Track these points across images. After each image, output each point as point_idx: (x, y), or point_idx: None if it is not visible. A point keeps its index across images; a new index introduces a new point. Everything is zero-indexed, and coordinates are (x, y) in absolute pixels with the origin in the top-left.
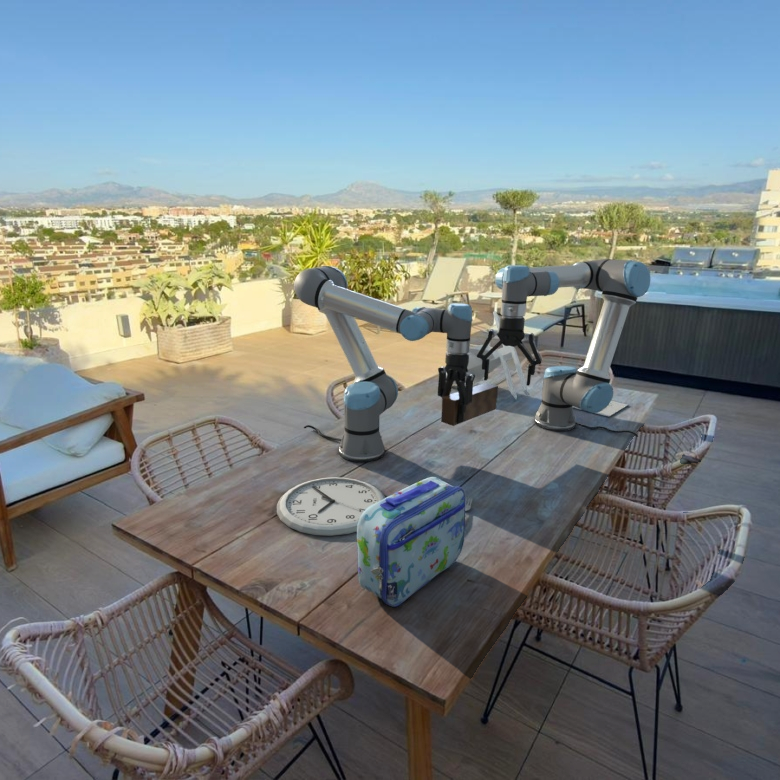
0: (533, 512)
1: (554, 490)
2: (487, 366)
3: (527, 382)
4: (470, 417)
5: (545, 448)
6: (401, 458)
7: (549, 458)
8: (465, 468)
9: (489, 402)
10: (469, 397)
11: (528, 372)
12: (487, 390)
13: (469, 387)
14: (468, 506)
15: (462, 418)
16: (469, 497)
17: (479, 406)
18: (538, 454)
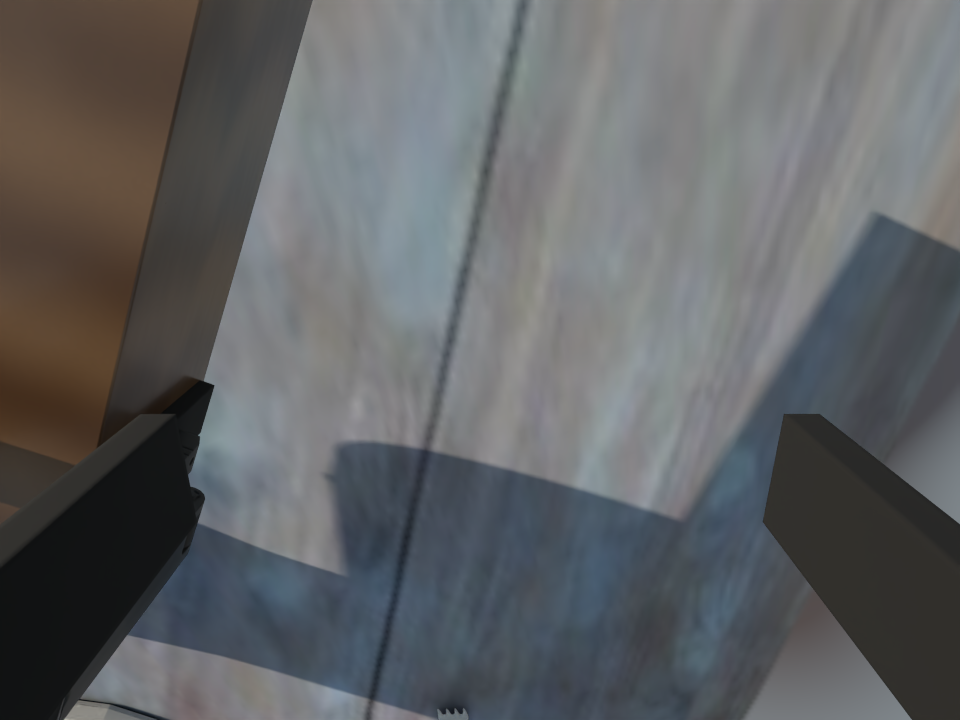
0: (661, 665)
1: (738, 509)
2: (53, 696)
3: (793, 551)
4: (226, 286)
5: (719, 46)
6: None
7: (735, 194)
8: (363, 465)
9: (273, 16)
10: (168, 567)
11: (897, 681)
12: (195, 53)
13: (103, 656)
14: (461, 716)
15: (199, 405)
16: (455, 710)
17: (229, 186)
18: (676, 162)
